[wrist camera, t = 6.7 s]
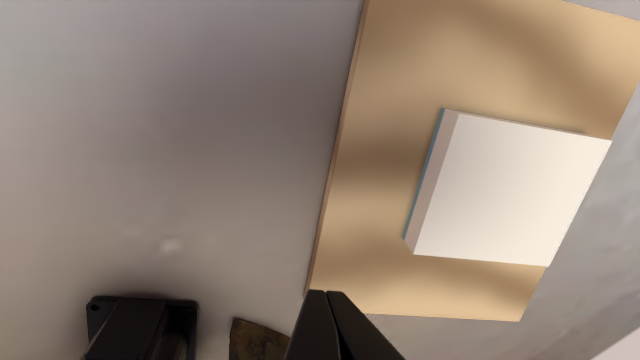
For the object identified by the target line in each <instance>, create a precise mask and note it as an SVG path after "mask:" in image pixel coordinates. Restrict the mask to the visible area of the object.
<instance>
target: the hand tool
mask: <svg viewBox="0 0 640 360" xmlns="http://www.w3.org/2000/svg"><path fill="white" fill-rule="evenodd" d="M229 337H230V344H229V360H284V357H285V354H286V351H287V348H288V345H289V342H290V339H291V338H289V337H287V336H285V335H283V334H280V333H278V332H276V331H273V330H271V329H268V328H266V327H263V326H259V325H257V324H254V323H250V322H246V321H243V320H239V319H236V320H234V321H233V324H232V328H231V332H230V336H229Z"/></svg>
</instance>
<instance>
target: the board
mask: <svg viewBox="0 0 640 360" xmlns="http://www.w3.org/2000/svg"><path fill="white" fill-rule="evenodd" d="M639 81H640V21H637V20H634V19H630V18H626V17H622V16H618V15H615V14H611V13H607V12H603V11H599V10H595V9H592V8H588V7H584V6H580V5H576V4H573V3H569V2H565V1H561V0H364V3H363V8H362V13H361V18H360V23H359V28H358V33H357V38H356V43H355V48H354V52H353V57H352V62H351V67H350V72H349V77H348V82H347V87H346V92H345V97H344V102H343V106H342V111H341V116H340V121H339V126H338V131H337V136H336V141H335V146H334V151H333V156H332V160H331V165H330V170H329V175H328V180H327V185H326V190H325V195H324V200H323V205H322V210H321V214H320V219H319V224H318V229H317V234H316V239H315V244H314V249H313V254H312V259H311V264H310V268H309V273H308V278H307V283H306V288H305V293H304V298H305V295H306V292H307V290H308V289H318V290H324V291H325V292H326V291H327V290H332V291H342V292H343V293H345V294H346V295H347V297H348V298H349V299H350V300H351V301H352V302H353V303H354V304H355V305H356V306H357V307H358V308H359V309H360V311H361V312H362V313H372V314H390V315H409V316H427V317H446V318H464V319H483V320H501V321H519V320H520V318H521V316H522V314H523V312H524V310H525V308H526V306H527V304H528V302H529V300H530V298H531V296H532V294H533V292H534V290H535V288H536V286H537V284H538V282H539V280H540V278H541V276H542V274H543V272H544V270H545V268H546V266H537V265H526V264H515V263H504V262H493V261H481V260H470V259H459V258H448V257H437V256H426V255H415V254H412V252H411V250H410V249H409V247H408V246H407V244H406V243H405V241H404V240H403V238H402V235H403V232H404V229H405V226H406V222H407V219H408V216H409V213H410V209H411V206H412V203H413V200H414V196H415V193H416V190H417V187H418V183H419V180H420V177H421V174H422V170H423V167H424V164H425V161H426V157H427V154H428V151H429V148H430V144H431V141H432V138H433V135H434V131H435V128H436V125H437V122H438V118H439V115H440V112H441V109H442V108H447V109H453V110H459V111H464V112H470V113H475V114H481V115H486V116H492V117H498V118H503V119H509V120H514V121H520V122H525V123H531V124H537V125H542V126H548V127H553V128H559V129H564V130H570V131H576V132H581V133H586V134H589V135H593V136H596V137H600V138H604V139H607V140H610V139H611V137H612V135H613V133H614V131H615V129H616V127H617V125H618V123H619V121H620V119H621V117H622V115H623V113H624V111H625V109H626V107H627V105H628V103H629V101H630V99H631V97H632V95H633V93H634V91H635V89H636V87H637V85H638V83H639Z"/></svg>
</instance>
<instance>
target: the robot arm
mask: <svg viewBox="0 0 640 360" xmlns="http://www.w3.org/2000/svg"><path fill="white" fill-rule="evenodd" d="M95 304H96V305H98V306H96V305H95ZM188 309H191V310H193V311H189V310H188ZM86 312H87V324H88V336H89V345H88V346H87V348H86V350H85V351H84V353H83V354H82V356H81V357H80V359H79V360H196V346H197V332H198V317H199V306H198V304H196V303H195V302H187V301H169V300H151V299H132V298H114V297H93V298H92V299H91V300H90V301H89V302H88V304H87V305H86ZM284 360H406V359H405V358H404V357H403V356H402V355H401V354H400V353H399V352H398V351H397V349H396V348H395V347H394V346H393V345H392V344H391V343H390V342H389V341H388V340H387V339H386V338H385V336H384V335H383V334H382V333H381V332H380V331H379V330H378V329H377V328H376V327H375V326H374V325H373V324H372V322H371V321H370V320H369V319H368V318H367V317H366V316H365V315H364V314H363V313H362V312H361V311H360V309H359V308H358V307H357V306H356V305H355V304H354V303H353V302H352V301H351V300H350V299H349V298H348V297H347V295H346V294H345V293H343V292H342V291H332V290H327V291H326V292H325V291H324V290H318V289H308V290H307V292H306V295H305V298H304V301H303V304H302V307H301V310H300V313H299V316H298V318H297V321H296V324H295V327H294V330H293V333H292V336H291V339H290V342H289V345H288V348H287V351H286V354H285V357H284Z"/></svg>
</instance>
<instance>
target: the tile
mask: <svg viewBox="0 0 640 360" xmlns="http://www.w3.org/2000/svg"><path fill="white" fill-rule="evenodd" d="M611 143H612V141H611V140H607V139H604V138H600V137H596V136H593V135H589V134H586V133H581V132H576V131H570V130H564V129H559V128H553V127H548V126H542V125H537V124H531V123H525V122H520V121H514V120H509V119H503V118H498V117H492V116H486V115H481V114H475V113H470V112H464V111H459V110H453V109H447V108H442V109H441V112H440V115H439V118H438V122H437V125H436V128H435V131H434V135H433V138H432V141H431V144H430V148H429V151H428V154H427V157H426V161H425V164H424V167H423V170H422V174H421V177H420V180H419V183H418V187H417V190H416V193H415V196H414V200H413V203H412V206H411V209H410V213H409V216H408V219H407V222H406V226H405V229H404V232H403V235H402V238H403V240H404V241H405V243H406V244H407V246H408V247H409V249H410V250H411V252H412V254H415V255H426V256H437V257H448V258H459V259H470V260H481V261H493V262H504V263H515V264H526V265H537V266H548V267H549V266H550V264H551V262H552V260H553V258H554V256H555V254H556V252H557V250H558V248H559V246H560V244H561V242H562V240H563V238H564V236H565V234H566V232H567V230H568V228H569V226H570V224H571V222H572V220H573V218H574V216H575V214H576V212H577V210H578V208H579V206H580V204H581V202H582V200H583V198H584V196H585V194H586V192H587V190H588V188H589V186H590V184H591V182H592V180H593V178H594V176H595V174H596V172H597V170H598V168H599V167H600V165H601V163H602V161H603V159H604V157H605V155H606V153H607V151H608V149H609V147H610V145H611Z"/></svg>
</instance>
